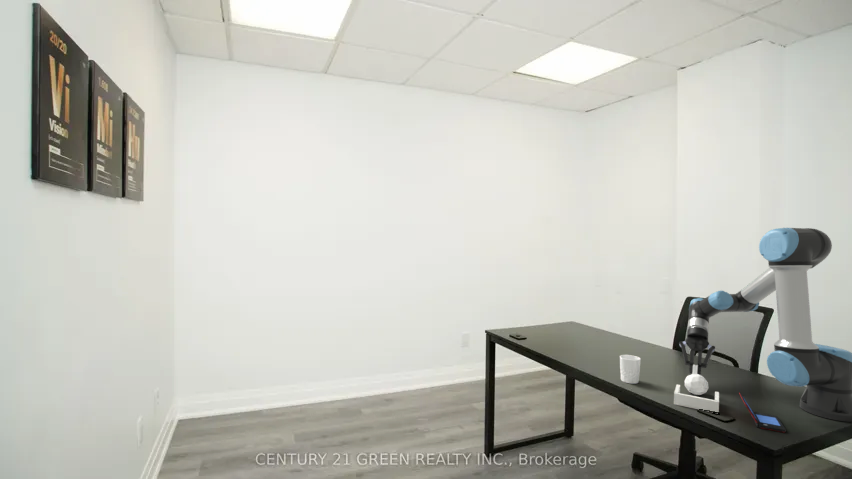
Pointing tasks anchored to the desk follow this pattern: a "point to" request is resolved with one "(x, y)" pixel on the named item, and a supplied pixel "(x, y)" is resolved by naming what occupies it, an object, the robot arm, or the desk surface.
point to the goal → (696, 401)
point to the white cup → (630, 368)
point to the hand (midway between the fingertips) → (694, 381)
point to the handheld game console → (765, 419)
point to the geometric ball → (696, 384)
